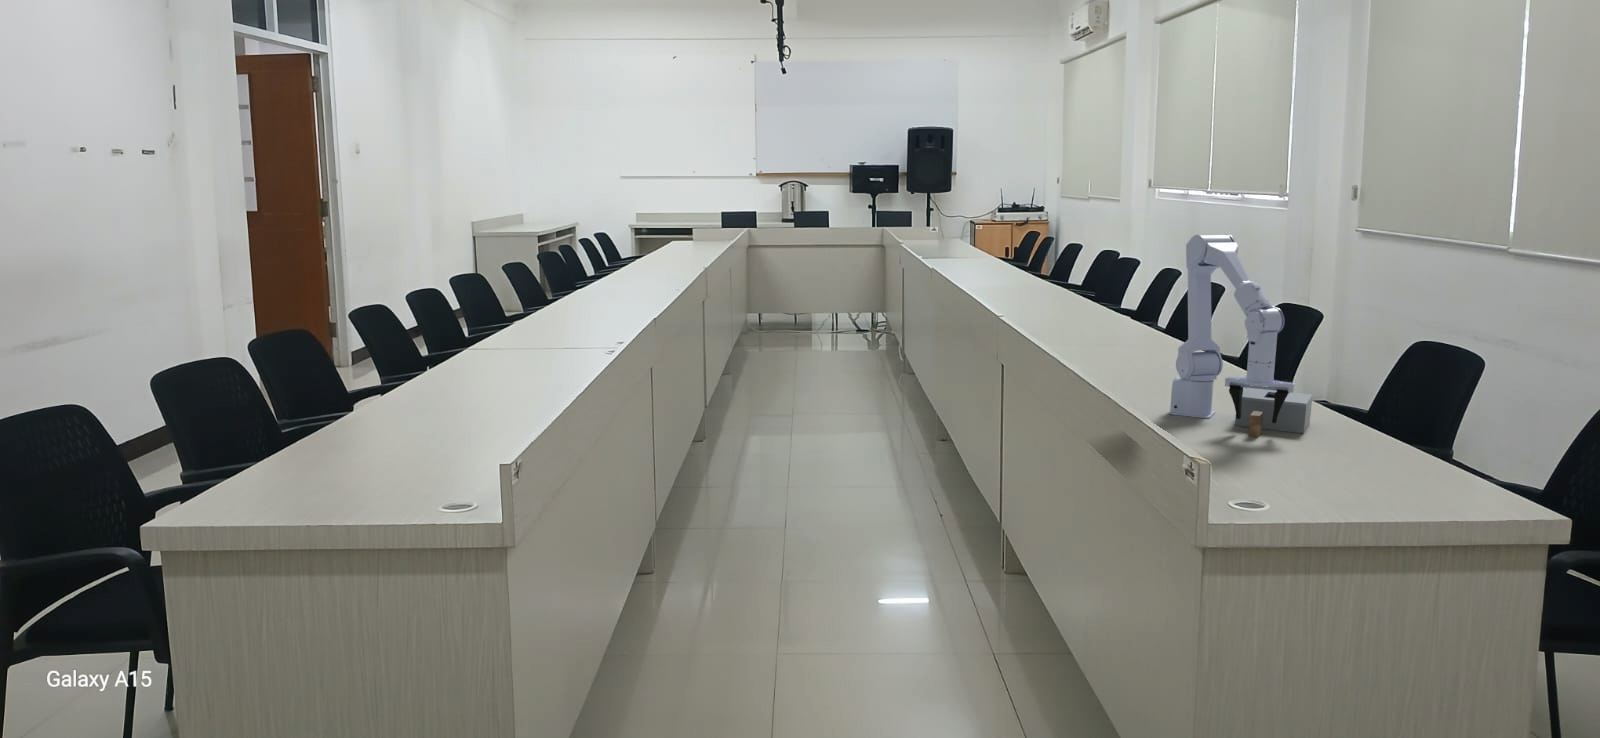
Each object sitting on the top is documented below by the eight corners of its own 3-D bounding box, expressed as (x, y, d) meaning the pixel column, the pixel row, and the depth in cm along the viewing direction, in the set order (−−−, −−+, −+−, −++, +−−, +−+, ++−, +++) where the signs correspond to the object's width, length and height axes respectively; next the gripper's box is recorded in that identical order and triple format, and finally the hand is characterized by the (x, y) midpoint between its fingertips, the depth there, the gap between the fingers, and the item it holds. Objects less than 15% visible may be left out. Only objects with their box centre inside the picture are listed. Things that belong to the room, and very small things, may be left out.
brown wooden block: (1248, 436, 262) (1250, 415, 262) (1252, 432, 267) (1253, 410, 266) (1257, 437, 261) (1259, 416, 261) (1261, 433, 266) (1263, 411, 265)
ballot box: (1234, 425, 273) (1237, 396, 271) (1243, 415, 283) (1245, 387, 282) (1303, 433, 265) (1306, 403, 264) (1309, 423, 276) (1312, 394, 274)
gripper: (1224, 360, 261) (1219, 419, 263) (1293, 367, 254) (1288, 427, 256) (1229, 356, 267) (1225, 414, 269) (1297, 362, 260) (1292, 421, 262)
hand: (1256, 420), depth 263 cm, fingers open, 7 cm apart
